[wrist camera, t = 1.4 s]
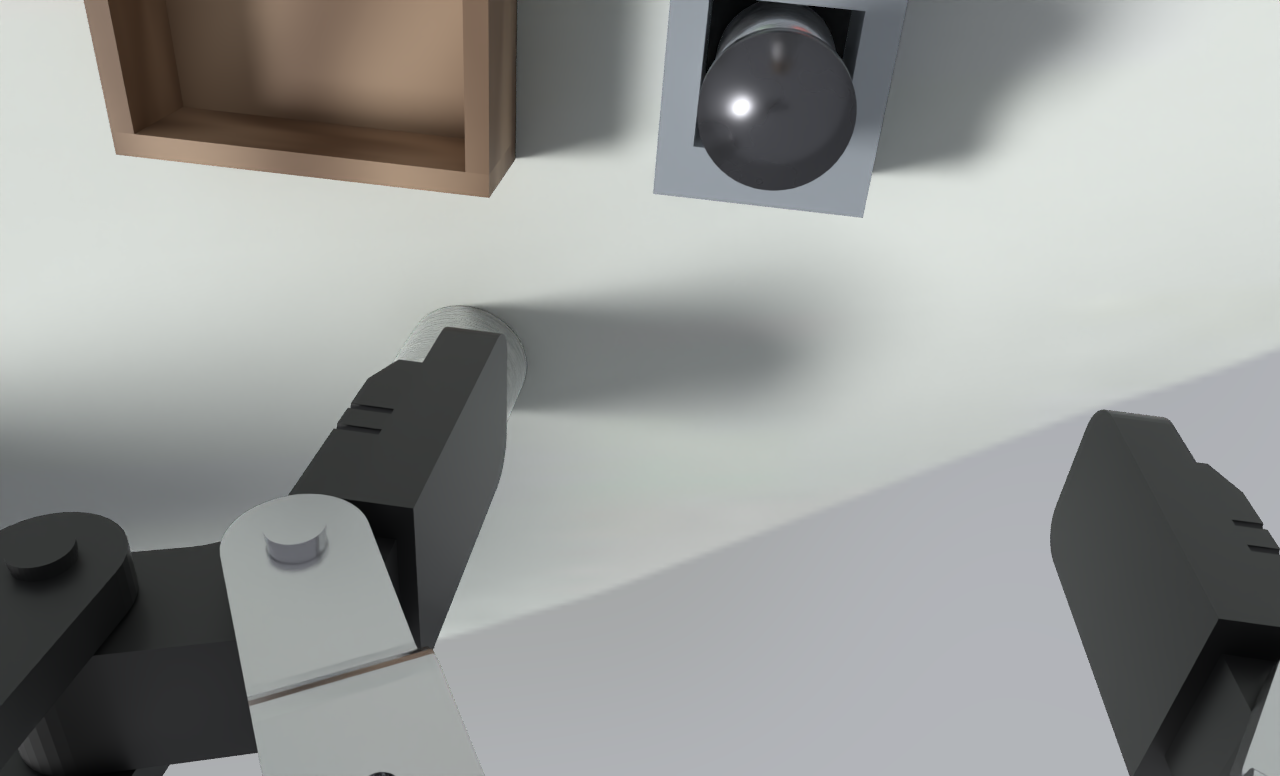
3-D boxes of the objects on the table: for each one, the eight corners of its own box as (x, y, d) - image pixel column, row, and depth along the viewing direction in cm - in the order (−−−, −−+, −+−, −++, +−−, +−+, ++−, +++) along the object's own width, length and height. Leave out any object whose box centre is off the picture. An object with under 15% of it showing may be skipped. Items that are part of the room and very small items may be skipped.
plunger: (702, 119, 29) (689, 182, 25) (717, -16, 27) (706, 24, 23) (830, 133, 29) (840, 198, 25) (854, -3, 27) (871, 42, 23)
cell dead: (410, 403, 38) (297, 598, 29) (404, 297, 35) (278, 474, 26) (527, 418, 37) (449, 620, 28) (529, 312, 35) (444, 496, 26)
